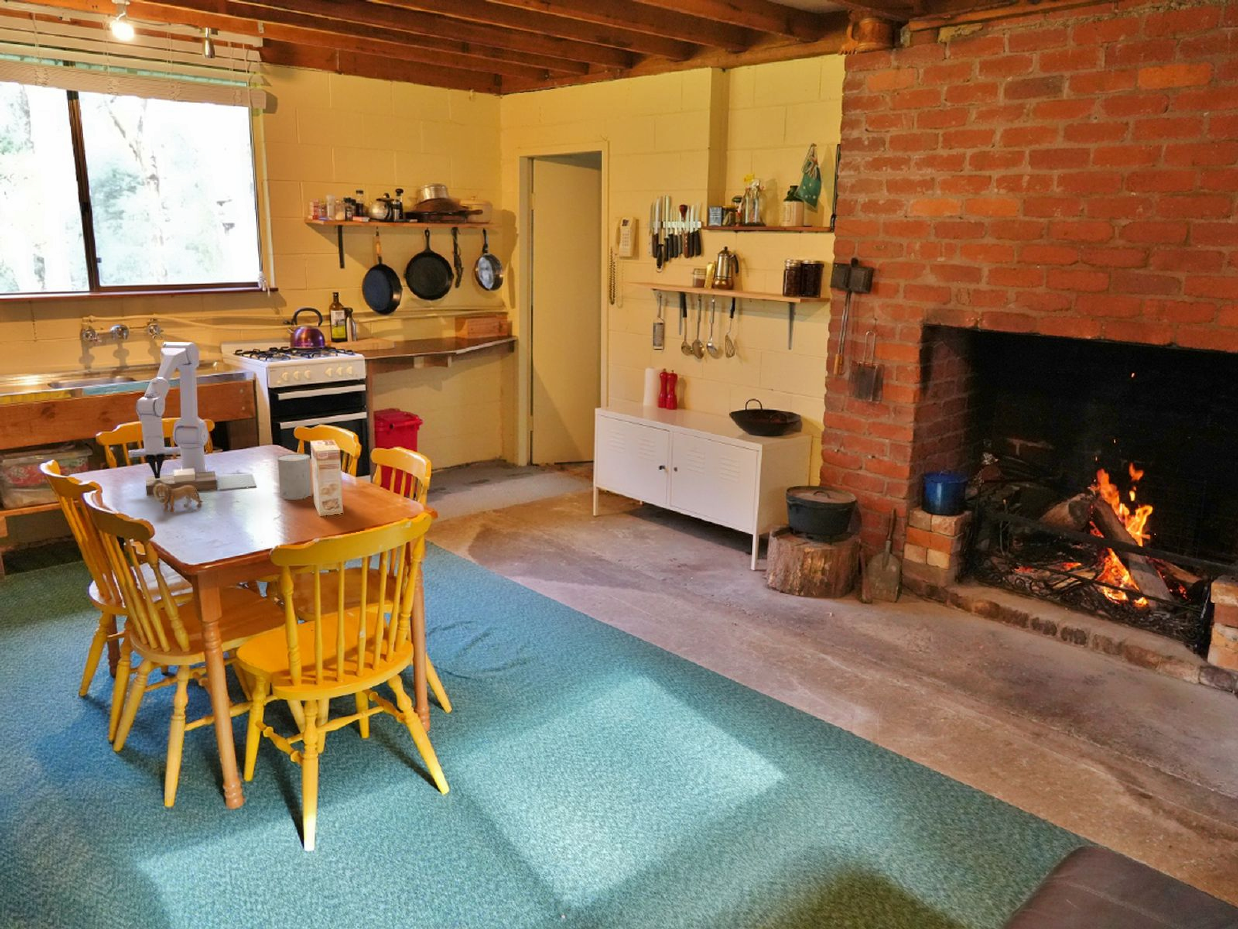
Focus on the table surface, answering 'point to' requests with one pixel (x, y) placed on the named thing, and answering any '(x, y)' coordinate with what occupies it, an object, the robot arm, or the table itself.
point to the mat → (235, 482)
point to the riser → (184, 482)
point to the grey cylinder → (294, 476)
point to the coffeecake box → (326, 477)
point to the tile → (184, 475)
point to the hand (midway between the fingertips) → (157, 477)
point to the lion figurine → (175, 495)
